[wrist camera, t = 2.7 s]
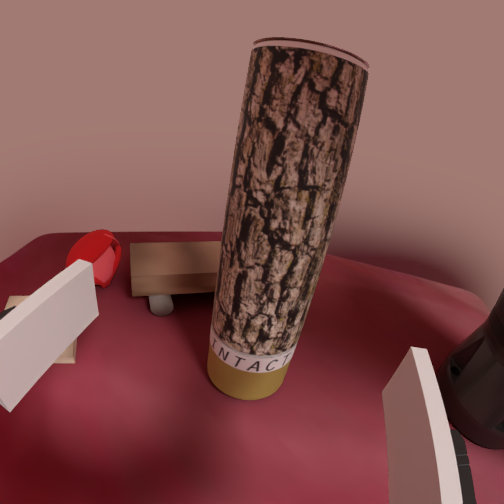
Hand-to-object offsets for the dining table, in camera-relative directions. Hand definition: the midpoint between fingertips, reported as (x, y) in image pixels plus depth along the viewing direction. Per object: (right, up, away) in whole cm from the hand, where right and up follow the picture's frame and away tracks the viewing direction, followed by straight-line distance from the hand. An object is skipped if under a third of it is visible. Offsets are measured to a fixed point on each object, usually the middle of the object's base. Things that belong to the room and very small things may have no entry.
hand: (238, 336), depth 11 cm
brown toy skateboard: (-4, -2, +25) cm, 25 cm away
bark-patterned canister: (0, -8, +15) cm, 16 cm away
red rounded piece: (-19, 0, +23) cm, 30 cm away
